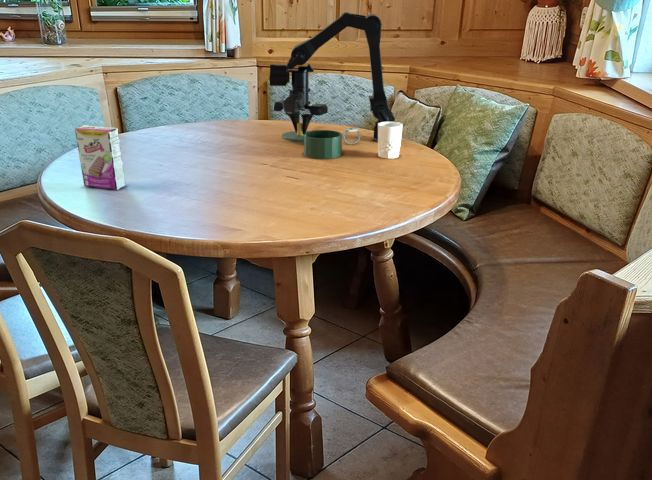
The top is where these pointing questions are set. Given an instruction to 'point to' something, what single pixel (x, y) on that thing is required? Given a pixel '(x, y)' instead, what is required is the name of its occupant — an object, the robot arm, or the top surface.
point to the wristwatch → (351, 131)
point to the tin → (322, 144)
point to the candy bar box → (100, 157)
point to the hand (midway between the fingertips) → (300, 133)
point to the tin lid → (295, 134)
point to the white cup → (389, 139)
